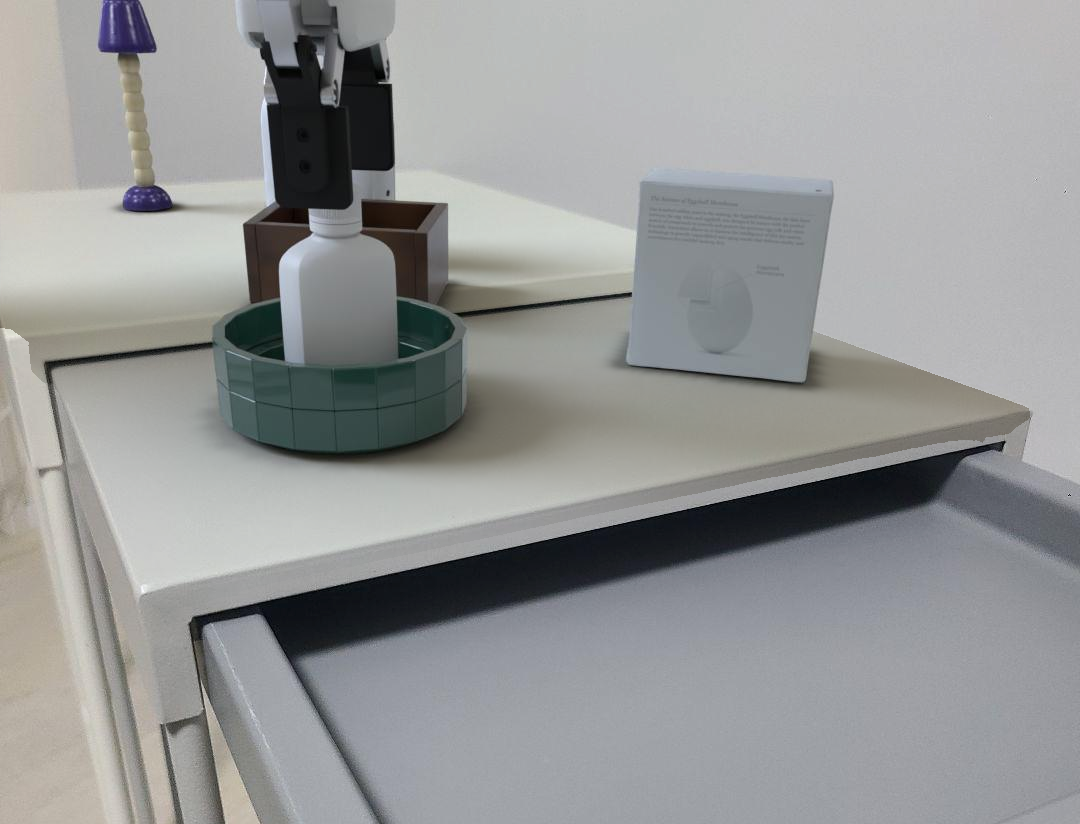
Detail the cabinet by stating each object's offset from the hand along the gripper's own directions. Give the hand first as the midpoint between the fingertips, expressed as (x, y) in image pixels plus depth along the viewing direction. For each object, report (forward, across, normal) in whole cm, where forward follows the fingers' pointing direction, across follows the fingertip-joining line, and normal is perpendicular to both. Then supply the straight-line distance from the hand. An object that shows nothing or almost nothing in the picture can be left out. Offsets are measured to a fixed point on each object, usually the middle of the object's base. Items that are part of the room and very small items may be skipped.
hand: (340, 186), depth 49 cm
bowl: (+11, 0, 0) cm, 11 cm away
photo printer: (+11, -32, -8) cm, 35 cm away
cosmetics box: (+12, -12, +20) cm, 26 cm away
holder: (+11, -21, -4) cm, 24 cm away
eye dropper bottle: (+11, 0, 0) cm, 11 cm away
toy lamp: (+11, -46, -28) cm, 55 cm away
